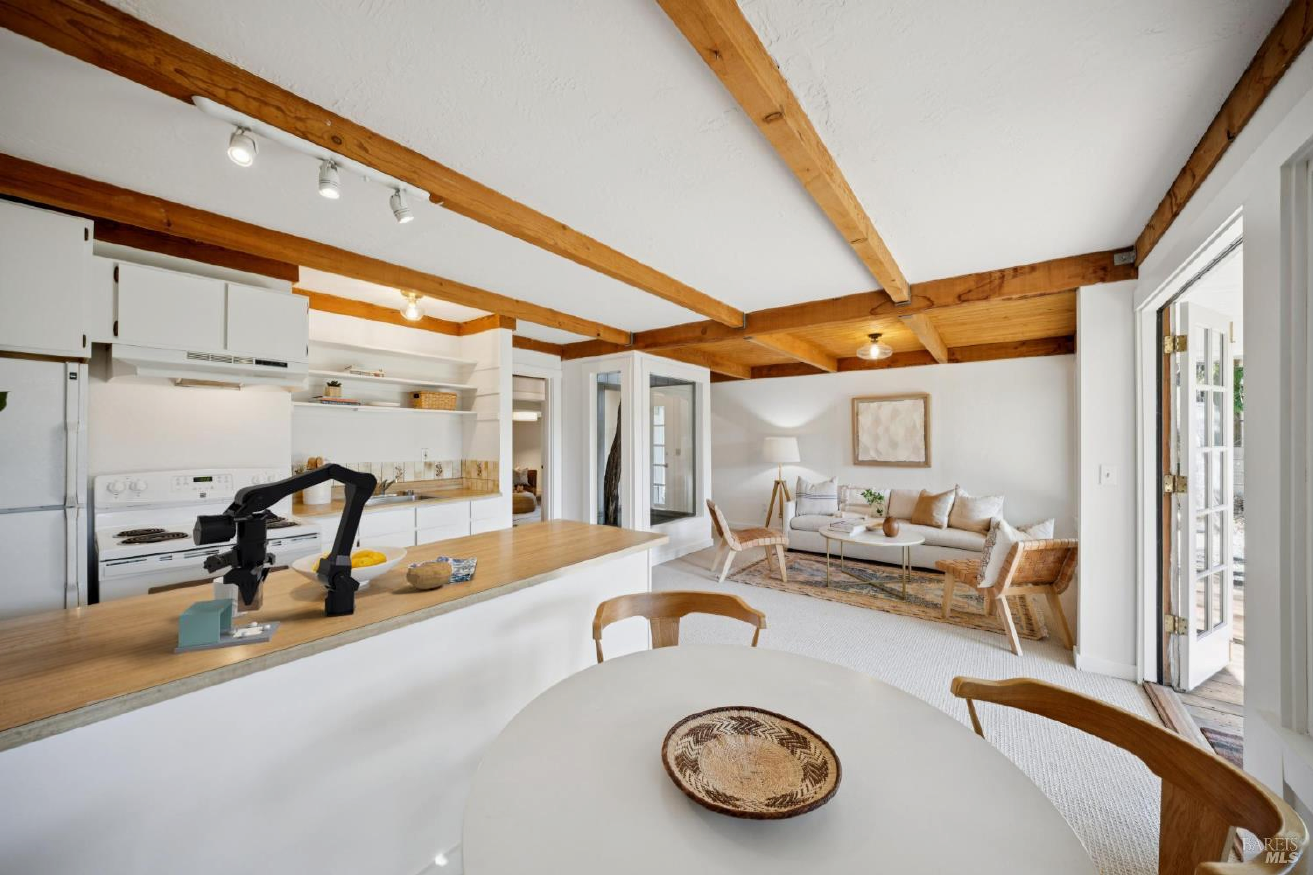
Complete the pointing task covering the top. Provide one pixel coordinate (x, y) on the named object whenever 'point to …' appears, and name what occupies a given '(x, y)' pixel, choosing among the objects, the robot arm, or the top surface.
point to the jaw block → (256, 601)
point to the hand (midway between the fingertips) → (250, 602)
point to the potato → (429, 575)
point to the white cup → (227, 594)
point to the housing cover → (204, 622)
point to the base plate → (237, 636)
